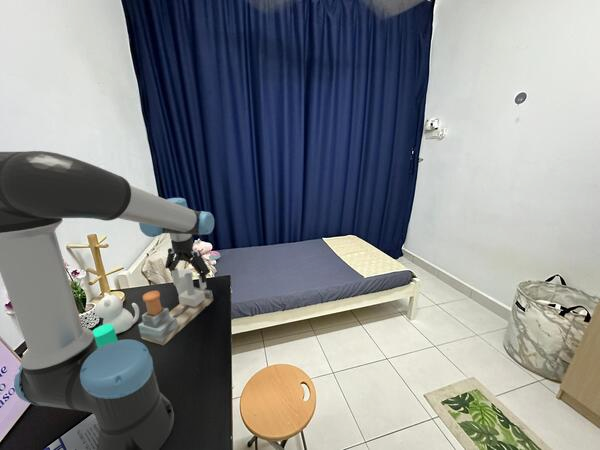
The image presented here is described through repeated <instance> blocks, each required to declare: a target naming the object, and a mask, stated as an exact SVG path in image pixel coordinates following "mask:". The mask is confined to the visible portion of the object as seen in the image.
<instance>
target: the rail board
mask: <svg viewBox="0 0 600 450" xmlns="http://www.w3.org/2000/svg"><path fill="white" fill-rule="evenodd" d="M194 289H195V290H200V287H196V286H194ZM200 291H201V290H200ZM203 291H204V294H205V299H204V300H203V301H202V302H201V303H200V304H198V305H197V306H196V307H193V306H189V305H185V304H180V303H179V304H177V306H175V307H174V308H172V309H171V310H170V309H169V308H168V307H163V306H161V308H162V311H161V312H160V313H158V314H157V315H156V316H153V315H149V314H148V311H146V312H144V313H143V314H142V315H141V317H142V318H141V319H142V321H141V322H140V323H138V325H137V326H138V330H139V334H140V337H141V339H142V340H145V341H148V342H151V343H155V344H157V345H161V346H165V345H166V344H167V343H168V342H169V341H170V340H171V339H172V338H174V337H175V335H177V334H178V333H179V332H180V331H181V330H182V329H183V328H184V327H186V326H187V325H188V324H189V323H190V322H191V321H192V320H194V319H195V318H196V317H197V316H198V315H199V314H200V313H201V312H202V311H203V310H204V309H206V308H207V307H208V306H210V304H211V303H213V302H214V296H213V290H210V289H206V288H205V289H204V290H203ZM206 306H207V307H206ZM205 307H206V308H205ZM169 310H170V311H169Z"/></svg>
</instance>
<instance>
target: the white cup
mask: <svg viewBox="0 0 600 450" xmlns="http://www.w3.org/2000/svg"><path fill="white" fill-rule="evenodd" d="M178 273H179V279H180V282H179V283H178V284H176V285H175V288H176V292H177V294H178V296H179V295H180V294H182V293H183V292H184V291H186V290H187V286H186V281H185V274H186V273H191V274H192V275H193V270H192V269H190V268H182V269H178ZM192 280H193V281H194V279H193V277H192Z"/></svg>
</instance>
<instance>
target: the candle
mask: <svg viewBox="0 0 600 450" xmlns="http://www.w3.org/2000/svg"><path fill="white" fill-rule="evenodd" d="M91 331H92V332H93V333H94V337H95V340H96V344H97V346H98V347H99V348H100V347H102V346H104V345H106V344H108V343H111V342H112V343H116V342H117V341H118V340H119V339H118V337H117V334H116V333H115V330H114V326H113V325H111V324H104V325H103V324H102V325H101V324H100V325H99V326H98V327H95V328H94V329H93V330H91Z"/></svg>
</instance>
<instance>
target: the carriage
mask: <svg viewBox="0 0 600 450" xmlns="http://www.w3.org/2000/svg"><path fill="white" fill-rule="evenodd" d="M192 278H193V273H192V274H191V273H186V274H185V281H186V286H187V290H186V291H184V292H183V293H182V294H180V295H179V294H178V302H179V304H185V305H189V306H193V307H196V306H197V305H198V304H200V303H201V302H202V301H203V300H204V299H205V294H204V291H200V290H195V289H194V287H195V286H194V279H193V280H192Z"/></svg>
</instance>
